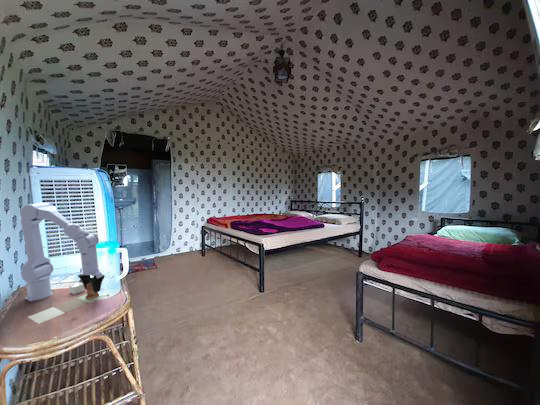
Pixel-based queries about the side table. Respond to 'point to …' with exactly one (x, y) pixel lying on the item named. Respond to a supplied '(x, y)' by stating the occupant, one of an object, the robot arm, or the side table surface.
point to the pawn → (91, 292)
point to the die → (76, 288)
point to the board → (62, 309)
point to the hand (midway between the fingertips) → (92, 289)
